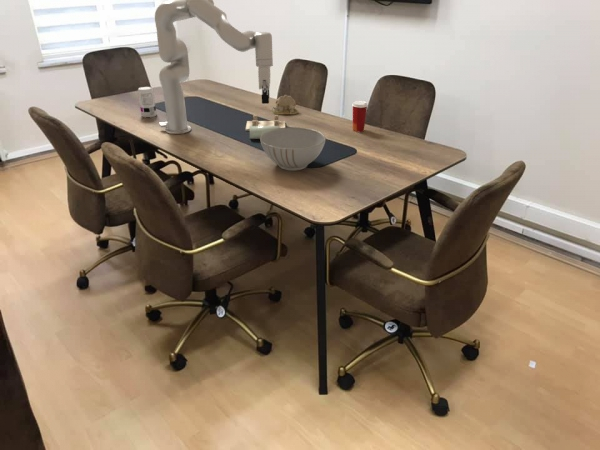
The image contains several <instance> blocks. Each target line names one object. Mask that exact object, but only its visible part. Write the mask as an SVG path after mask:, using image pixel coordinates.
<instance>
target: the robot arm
mask: <svg viewBox="0 0 600 450" xmlns="http://www.w3.org/2000/svg"><path fill="white" fill-rule="evenodd" d="M193 18H197V19H198V20H200V21H201V22H203V23H204V24H205V25H207V26H209V27H210V28H211V29H213V31H215V32H216V34H217V35H218V36H219V37H220V39H221V40H222V41H224V43H225V44H227V45H229V47H231V48H233V49H235V50H236V51H239V52H241V53H244V52H248V51H249V50H252V49H255V50H254V51H255V55H254V56H255V66H256V67H258V71H257V72H258V73H257V74H258V76H257V77H258V89H259V90H261V104H264V105H265V104H268V105H269V104H270V89H271V88H270V87H271V67H273V65H274V63H273V58H274V57H273V36H272V34H271V32H267V31H262V32H261V31H260V32H258V31H257V32H256V31H253V30H245V31H242V32H241V31H240V30H238V29H236V28H235V27H234V26H233V25H232V24H231V23H230V22H229V20H228V18H227V14H226V12H225V11H223V10H221V9H220V8H218V7H217V6H216V5H215V2H214V0H167V1H164V2H162V3H161V4H159V5H158V7H157V8H156V9H155V12H154V23H155V27H156V29H155V30H156V35H157V36H156V37H157V46H158V53H159V57H160V59H161V60H162V62H164V63H170V64H168V65H166V66H164V67H163V68H161V69H160V71H159V74H158V75H159V76H158V78H159V82H160V85H161V89H162V94H163V101H164V106H165V107H164V108H165V113H166V121H165V122H163V121H162V122H161V121H159V123H158V125H159V127H161V128H165V133H168V134H171V135H179V134H180V135H182V134H185V133H189V132H190V131H191V130H192V127H191V126H190V125H189V124H188V119H187V118H188V117H187V110H186V102H185V101H186V100H185V95H184V91H183V90H184V89H183V88H182V85H181V83H184V82H186V81H187V80H188V79H189V77H190V63H189V62H190V61H189V51H188V48H187V45H186V43H185V42H184V41H183V40H182V39H180V38H177V31H176V30H177V29H176V27H175V25H174V23H175V22H179V21H183V20H184V21H185V20H187V19H193Z"/></svg>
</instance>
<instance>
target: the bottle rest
mask: <svg viewBox="0 0 600 450" xmlns="http://www.w3.org/2000/svg"><path fill="white" fill-rule="evenodd" d="M252 117H253V119H252V120H247V121H246V125H245V131H246V132H249V129H250V126H279V128H286V120H279V114H274V120H258V115H257V114H254V115H252Z"/></svg>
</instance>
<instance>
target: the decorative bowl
mask: <svg viewBox="0 0 600 450" xmlns="http://www.w3.org/2000/svg"><path fill="white" fill-rule="evenodd" d="M259 140H260V145H261V147H262V149H263V151H264V153H265V154H266V156H267V157H268V158H269V159H270V160H271V161H272V162H273V163H275V164H277V165H278V167H279V168H280V169H282V170H285V171H300V170H301V171H302V170H303V169H306V168H307V167H308V165H309V164H311V163H312V162H314V161H315V160H316V159H317V157H318V156H319V155H320V154H321V152H322V150H323V148H324V147H325V144H326V136H325V135H324V133H322V132H321V131H318V130H316V129H312V128H306V127H299V126H298V127H297V126H294V127H293V126H292V127H285V128H278V129H273V130H270V131H267V132H265V133H264V134H262V135H261V137H260V139H259Z"/></svg>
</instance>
